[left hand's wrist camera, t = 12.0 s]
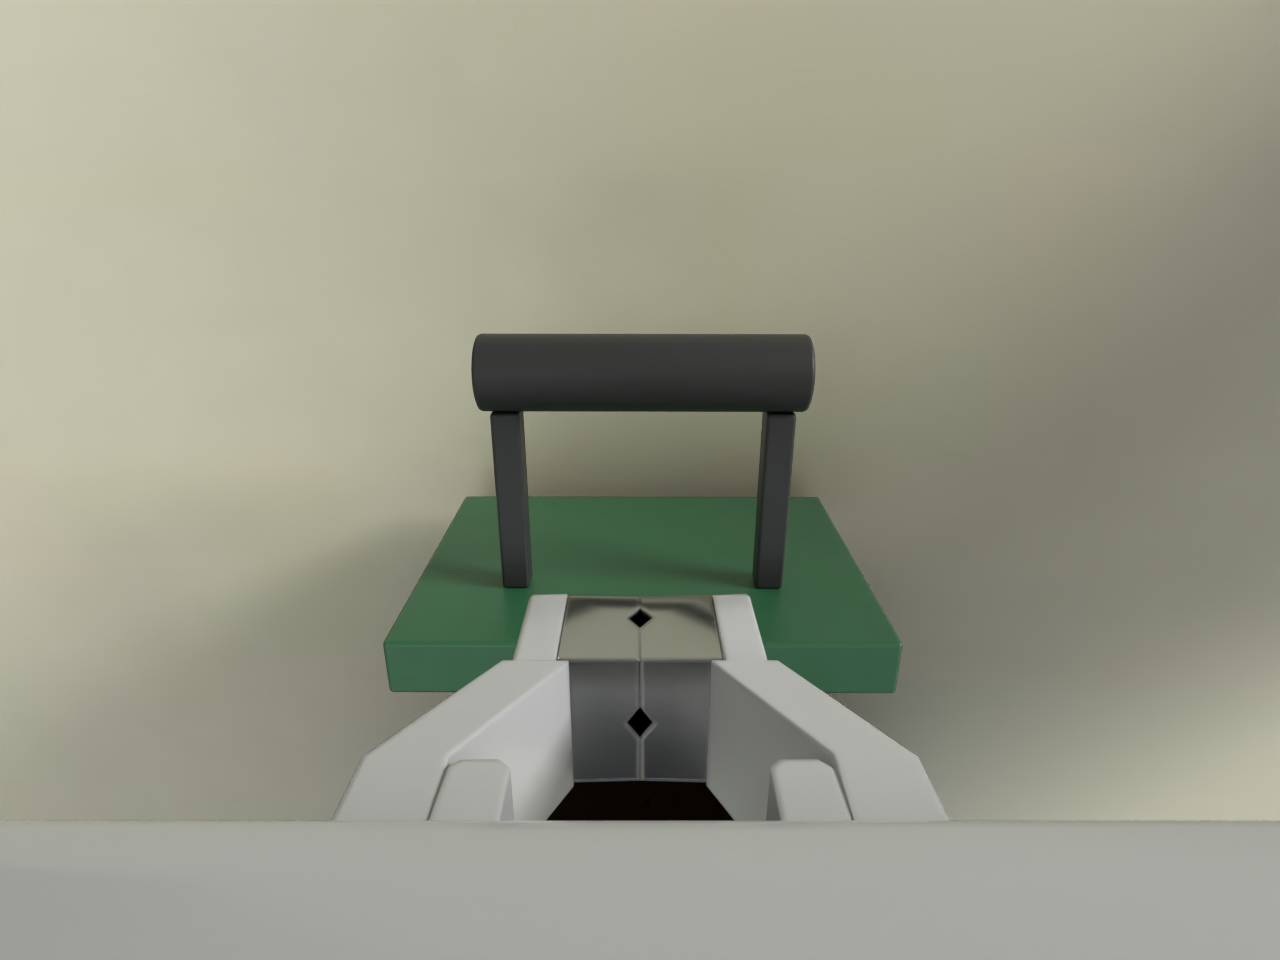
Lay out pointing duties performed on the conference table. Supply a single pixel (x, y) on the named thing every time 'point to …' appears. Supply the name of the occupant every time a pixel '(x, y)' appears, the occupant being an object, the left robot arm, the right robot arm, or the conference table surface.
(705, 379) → the drawer
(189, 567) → the conference table surface
